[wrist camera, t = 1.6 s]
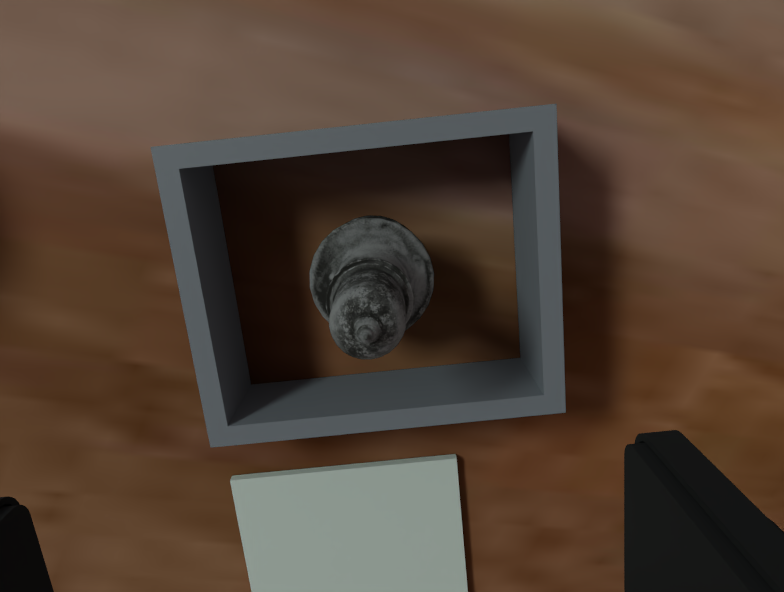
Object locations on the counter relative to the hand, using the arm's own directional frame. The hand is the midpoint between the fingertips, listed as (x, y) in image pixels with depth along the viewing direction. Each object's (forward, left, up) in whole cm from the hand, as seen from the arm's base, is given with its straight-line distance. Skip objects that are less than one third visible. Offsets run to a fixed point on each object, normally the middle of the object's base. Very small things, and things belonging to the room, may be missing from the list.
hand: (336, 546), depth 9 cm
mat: (+3, +18, -23) cm, 29 cm away
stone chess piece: (0, 0, -23) cm, 23 cm away
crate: (0, 0, -23) cm, 23 cm away
